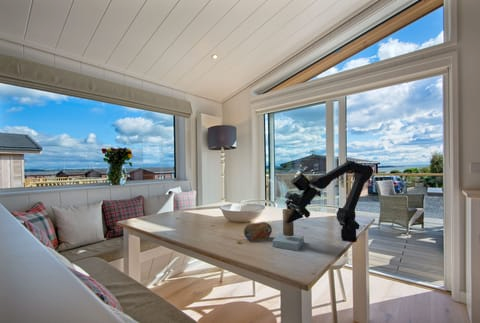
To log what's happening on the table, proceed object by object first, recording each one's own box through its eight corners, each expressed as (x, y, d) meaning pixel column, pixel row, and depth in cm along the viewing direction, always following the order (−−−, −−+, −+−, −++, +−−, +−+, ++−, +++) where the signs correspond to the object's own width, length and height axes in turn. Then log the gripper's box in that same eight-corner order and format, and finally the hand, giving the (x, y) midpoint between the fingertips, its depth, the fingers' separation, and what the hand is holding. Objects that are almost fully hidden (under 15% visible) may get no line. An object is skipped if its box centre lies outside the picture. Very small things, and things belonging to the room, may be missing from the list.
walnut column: (292, 233, 115) (292, 208, 115) (294, 236, 110) (293, 210, 110) (282, 233, 115) (282, 208, 115) (283, 236, 110) (283, 211, 110)
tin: (245, 241, 119) (244, 224, 119) (243, 239, 122) (242, 223, 122) (272, 238, 123) (271, 222, 123) (269, 236, 126) (269, 220, 126)
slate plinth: (303, 242, 115) (303, 236, 115) (297, 250, 104) (297, 243, 104) (280, 238, 121) (280, 233, 121) (272, 246, 110) (272, 240, 110)
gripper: (288, 184, 122) (268, 206, 121) (302, 188, 104) (279, 214, 102) (302, 198, 124) (283, 220, 122) (319, 204, 105) (297, 231, 103)
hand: (285, 221), depth 112 cm, fingers closed on walnut column, 5 cm apart
